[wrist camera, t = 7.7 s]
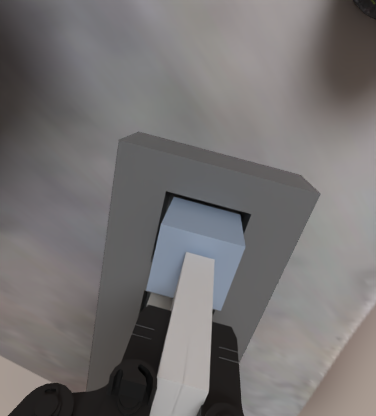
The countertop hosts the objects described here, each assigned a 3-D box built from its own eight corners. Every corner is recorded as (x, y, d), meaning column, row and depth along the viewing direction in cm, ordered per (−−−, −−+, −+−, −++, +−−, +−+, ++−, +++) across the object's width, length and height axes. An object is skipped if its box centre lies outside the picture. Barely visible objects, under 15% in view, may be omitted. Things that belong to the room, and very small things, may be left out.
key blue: (160, 252, 19) (146, 290, 15) (173, 196, 17) (160, 223, 13) (220, 268, 19) (220, 310, 15) (240, 214, 17) (245, 246, 13)
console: (101, 365, 29) (84, 404, 26) (138, 131, 19) (118, 139, 15) (205, 394, 29) (203, 437, 25) (300, 175, 19) (320, 193, 15)
